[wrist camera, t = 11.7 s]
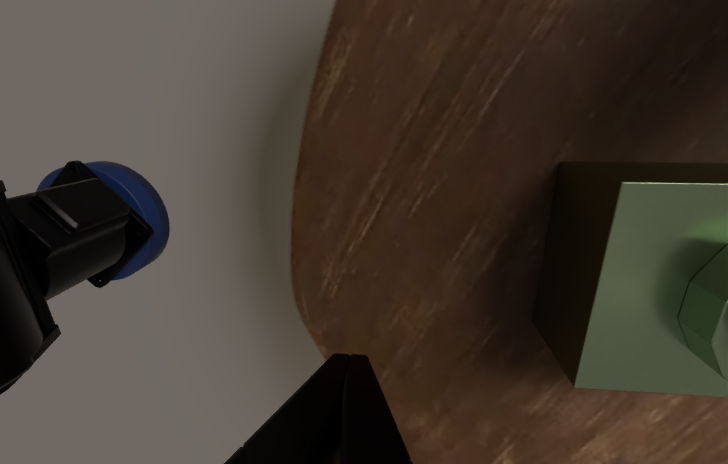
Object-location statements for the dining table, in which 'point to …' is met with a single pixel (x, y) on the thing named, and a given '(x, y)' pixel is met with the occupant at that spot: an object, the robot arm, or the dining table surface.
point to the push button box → (638, 277)
